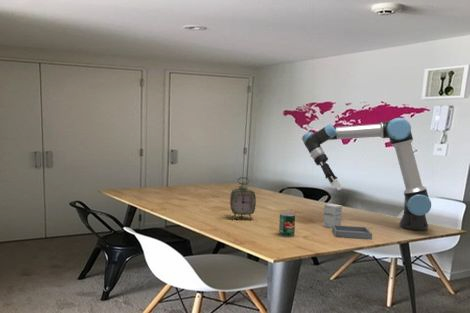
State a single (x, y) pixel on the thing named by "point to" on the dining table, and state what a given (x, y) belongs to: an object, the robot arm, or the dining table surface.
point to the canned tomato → (287, 224)
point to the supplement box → (332, 215)
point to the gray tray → (351, 232)
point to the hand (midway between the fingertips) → (337, 188)
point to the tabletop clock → (242, 201)
